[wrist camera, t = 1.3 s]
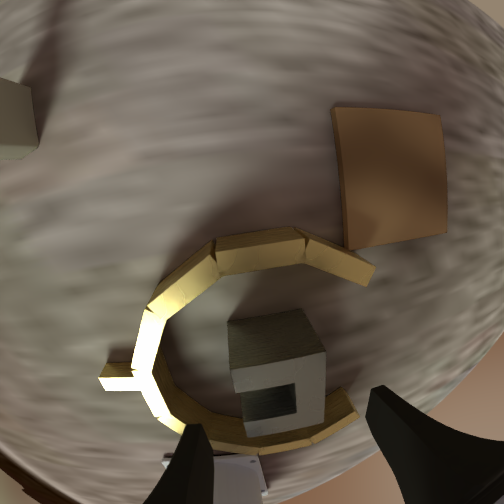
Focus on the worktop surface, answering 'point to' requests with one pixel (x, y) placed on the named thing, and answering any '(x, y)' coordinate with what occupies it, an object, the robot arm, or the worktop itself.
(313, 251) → the c ring
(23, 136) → the lighter
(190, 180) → the worktop surface
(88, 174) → the worktop surface
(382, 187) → the coaster
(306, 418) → the c link
